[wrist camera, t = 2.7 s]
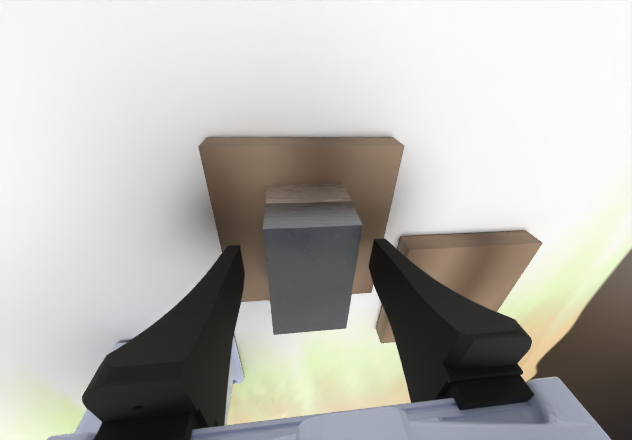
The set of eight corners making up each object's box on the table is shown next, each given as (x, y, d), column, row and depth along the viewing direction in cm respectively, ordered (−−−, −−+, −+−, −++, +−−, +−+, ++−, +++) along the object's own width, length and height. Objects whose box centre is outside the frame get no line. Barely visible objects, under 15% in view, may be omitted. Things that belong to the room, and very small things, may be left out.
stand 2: (375, 328, 24) (380, 343, 23) (400, 236, 18) (409, 250, 17) (472, 319, 25) (482, 333, 24) (525, 230, 19) (542, 242, 18)
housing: (275, 279, 17) (273, 334, 14) (267, 184, 13) (262, 229, 10) (333, 275, 17) (346, 328, 14) (342, 183, 14) (362, 225, 10)
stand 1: (236, 286, 19) (233, 302, 18) (206, 137, 13) (198, 146, 12) (365, 277, 20) (371, 292, 19) (393, 137, 14) (404, 145, 13)
